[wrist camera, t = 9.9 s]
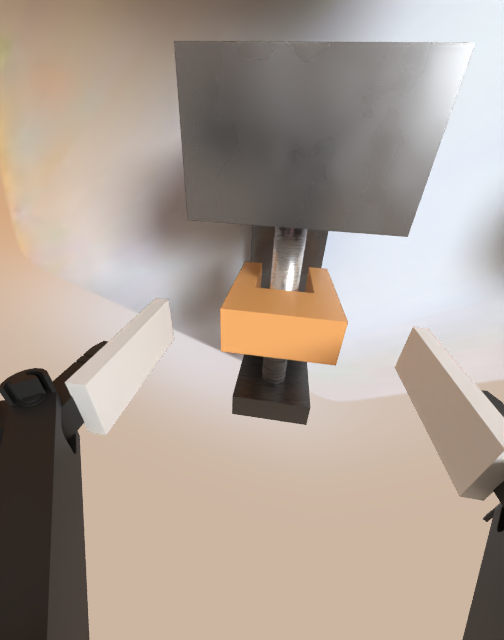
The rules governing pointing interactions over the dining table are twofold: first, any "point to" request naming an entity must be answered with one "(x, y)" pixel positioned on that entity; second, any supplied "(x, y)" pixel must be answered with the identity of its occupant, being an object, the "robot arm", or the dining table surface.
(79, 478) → the robot arm
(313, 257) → the block
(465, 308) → the dining table surface
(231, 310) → the block
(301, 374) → the shaft
